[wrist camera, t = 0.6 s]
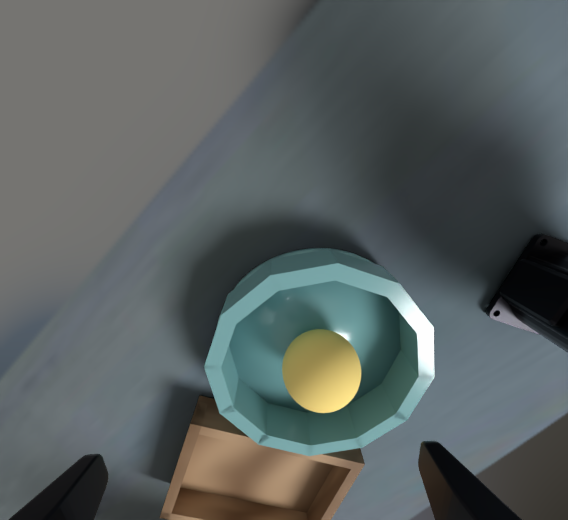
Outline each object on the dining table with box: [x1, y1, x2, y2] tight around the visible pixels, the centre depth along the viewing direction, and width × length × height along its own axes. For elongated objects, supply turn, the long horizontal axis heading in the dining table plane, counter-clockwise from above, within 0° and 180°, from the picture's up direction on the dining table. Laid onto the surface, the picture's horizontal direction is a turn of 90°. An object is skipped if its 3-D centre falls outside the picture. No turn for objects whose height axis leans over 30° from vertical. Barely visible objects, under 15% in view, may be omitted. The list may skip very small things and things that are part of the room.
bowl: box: [204, 248, 434, 456], centre depth 20 cm, size 14×14×3 cm
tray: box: [160, 395, 365, 520], centre depth 24 cm, size 14×11×3 cm
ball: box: [282, 329, 361, 413], centre depth 19 cm, size 5×5×5 cm
